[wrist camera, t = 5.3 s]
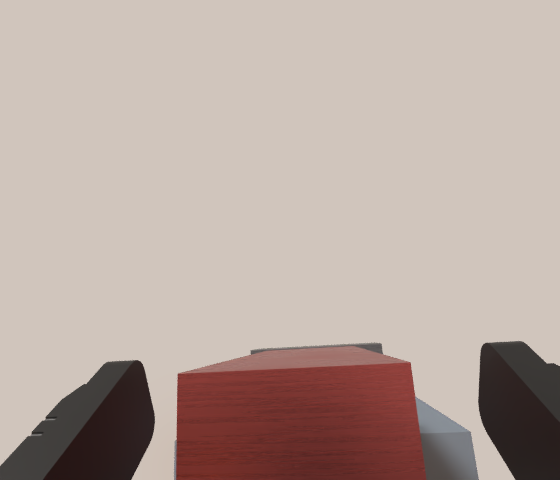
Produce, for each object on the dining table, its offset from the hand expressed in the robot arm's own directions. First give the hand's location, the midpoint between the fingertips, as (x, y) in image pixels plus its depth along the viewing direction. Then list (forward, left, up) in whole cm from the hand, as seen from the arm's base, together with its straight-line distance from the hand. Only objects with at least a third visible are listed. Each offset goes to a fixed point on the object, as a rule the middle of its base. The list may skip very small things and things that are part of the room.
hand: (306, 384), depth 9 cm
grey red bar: (-5, -5, -3) cm, 7 cm away
